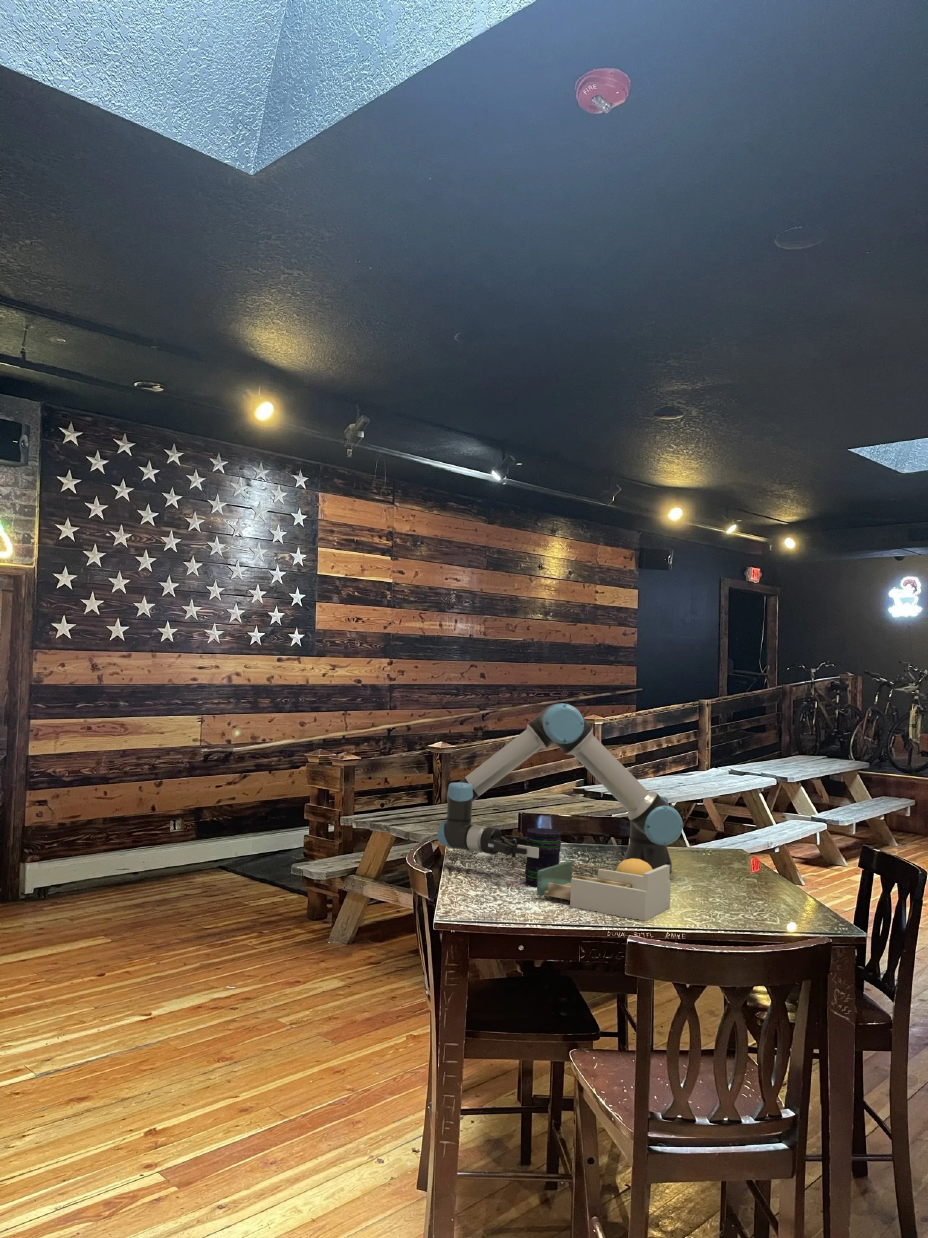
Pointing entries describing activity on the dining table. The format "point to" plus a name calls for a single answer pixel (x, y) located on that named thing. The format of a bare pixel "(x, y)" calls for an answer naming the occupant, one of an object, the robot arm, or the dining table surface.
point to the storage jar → (542, 852)
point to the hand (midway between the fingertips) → (549, 850)
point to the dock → (624, 893)
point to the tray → (563, 881)
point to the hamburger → (634, 867)
